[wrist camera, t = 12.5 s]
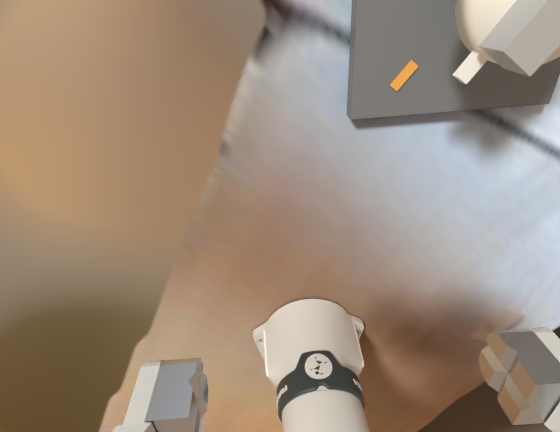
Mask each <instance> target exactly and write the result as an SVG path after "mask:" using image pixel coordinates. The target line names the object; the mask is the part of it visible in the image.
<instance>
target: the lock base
mask: <svg viewBox="0 0 560 432" xmlns="http://www.w3.org/2000/svg"><path fill="white" fill-rule="evenodd" d="M455 4H456V0H352V15H351V37H350V58H349V80H348V101H347V115H348V116H349V117H350V119H364V118H376V117H389V116H401V115H414V114H426V113H439V112H451V111H464V110H476V109H489V108H501V107H514V106H526V105H539V104H549V102H550V99H551V97H552V94H553V91H554V88H555V86H556V83H557V80H558V77H559V75H560V57H558V58H556V59H554V60H552V61H550V62H548V63H545V64H542V65H541V66H540V67H539V68H538V69H537V70H536V71H535V72H534V73H533V74H532V75H531V76H526V75H523V74H520V73H516V72H513V71H509V70H506V69H503V68H502V67H501V66H500V65H499V64H497V63H494V62H490V61H486V62H485V63H484V65H483V66H482V67H481V68H480V69H479V70H478V72H477V73H476V74H475V75H474V76H473V77H472V79H471V80H470V81H469V82H468V83H467V84H464V83H462V82H460V81H459V80H458V79H456V78H455V77H454V76H453V74H454V72H455V71H456V70H457V69H458V68H459V66H460V65H461V64H462V63H463V62H464V60H465V59H466V58H467V57H468V55H469V54H470V53H471V52H470V51H469V50H468V49H467V48H466V47H465V45H464V44H463V42H462V40H461V38H460V36H459V34H458V30H457V26H456V21H455Z"/></svg>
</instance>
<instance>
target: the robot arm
mask: <svg viewBox="0 0 560 432" xmlns="http://www.w3.org/2000/svg"><path fill="white" fill-rule="evenodd" d="M363 329H364V324H363V321H362V320H361V319H359V318H357V317H354V316H351V315H350V314H348V313H347V312H346V311H345V310H344V309H343V308H342V307H341V306H339V305H338V304H336V303H333V302H331V301H327V300H322V299H305V300H299V301H295V302H292V303H289V304H287V305H285V306H283V307H281V308H280V309H278V310H277V311H276V312H275V313H274V314H273V315H272V316H271V317H270V318H269V320H268V321H267V322H266V323H264V324H263V325H261V326H259V327H257V328H256V329H254V330H253V339H254V341H255V343H256V345H257V347H258V349H259V351H260V354H261V356H262V358H263V360H264V362H265V368H266V376H268V377H269V378H270V381H271V383H272V384H273V386H274V387H275V389H276V390H277V409H278V414H279V418H280V420H281V422H282V429H283V432H370V431H369V428H368V425H367V421H366V418H365V414H364V407H365V403H364V397H363V391H362V387H361V385H360V382H359V375H360V373H361V371H362V368H363V367H364V360H363V356H362V352H361V348H360V344H359V339H360V337H361V334H362V332H363ZM485 341H486V342H487V344H488V346H487V347H485V348H484V349H483V350H481V352H480V355H479V358H478V359H479V367H480V370H481V373H482V375H483V377H484V379H485V381H486V382H487V384H488V385H489V386H490V387H492V388H493V389H495V390H496V391H498V402H499V403H500V405H501V407H502V408H503V410H504V412H505V413H506V415H507V416H508V418H509V420H510V421H511V423H512V424H513V425H519V424H533V423H545V424H544V425H545V426H546V427H548V428H549V429H550V430H551V431H552V432H560V339H559V338H558V337H557V336H556V335H555V334H554V333H553V332H552V331H551V330H550V329H548V328H543V327H541V328H532V329H516V330H506V331H497V332H491V333H490V334H488V336H487V338H486V340H485ZM202 370H203V363H202V360H201V358H191V359H176V360H160V361H149V362H144V364H143V365H142V367H141V368H140V371H139V375H138V378H137V381H136V384H135V387H134V391H133V394H132V397H131V400H130V404H129V407H128V410H127V413H126V416H125V420H124V423H123V425H117V426H116V427H115V428H114V429H113V430H112V431H111V432H204V430H205V427H204V423H203V420H202V416H203V415H204V413H205V412H206V411H207V403H208V384H207V378H206V375H205V374H204V373H202Z"/></svg>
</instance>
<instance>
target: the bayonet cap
mask: <svg viewBox="0 0 560 432" xmlns="http://www.w3.org/2000/svg"><path fill="white" fill-rule="evenodd" d="M455 21H456V26H457V30H458V34H459V36H460V38H461V40H462V42H463V44H464V45H465V47H466V48H467V49H468V50H469V51H470V52H471V53H470V54H469V55H468V57H467V58H466V59H465V60H464V62H463V63H462V64H461V65H460V66H459V68H458V69H457V70H456V71H455V72H454V74H453V76H454V77H455V78H456V79H458V80H459V81H460V82H462V83H464V84H467V83H468V82H469V81H470V80H471V79H472V77H473V76H474V75H475V74H476V73H477V72H478V70H479V69H480V68H481V67H482V66H483V65H484V63H485V62H486V61H490V62H494V63H497V64H499V65H500V66H501V67H502V68H503V69H506V70H509V71H513V72H516V73H520V74H523V75H526V76H531V75H532V74H533V73H534V72H535V71H536V70H537V69H538V68H539V67H540V66H541V65H542V64H545V63H548V62H550V61H552V60H554V59H556V58H558V57H560V0H456V4H455Z"/></svg>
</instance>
